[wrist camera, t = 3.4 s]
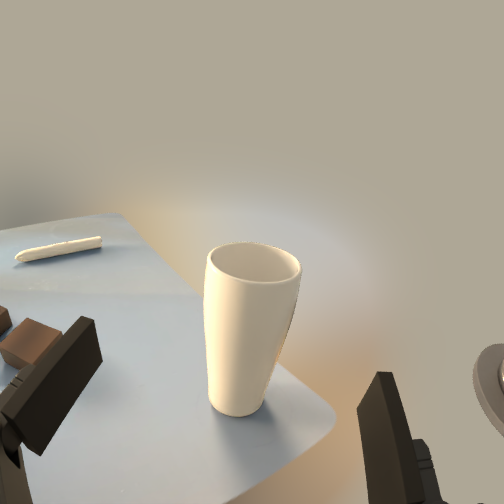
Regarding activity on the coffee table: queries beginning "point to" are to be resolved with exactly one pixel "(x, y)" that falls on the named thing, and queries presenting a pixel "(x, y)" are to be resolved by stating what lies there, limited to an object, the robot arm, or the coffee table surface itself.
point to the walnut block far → (4, 320)
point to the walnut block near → (28, 343)
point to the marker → (59, 249)
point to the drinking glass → (246, 321)
